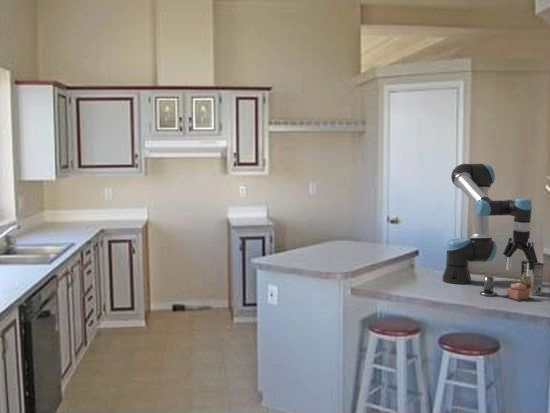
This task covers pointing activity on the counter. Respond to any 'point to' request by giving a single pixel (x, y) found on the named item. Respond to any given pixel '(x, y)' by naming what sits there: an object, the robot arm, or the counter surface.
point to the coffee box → (532, 278)
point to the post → (488, 287)
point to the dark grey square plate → (518, 299)
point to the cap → (518, 291)
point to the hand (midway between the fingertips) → (518, 273)
